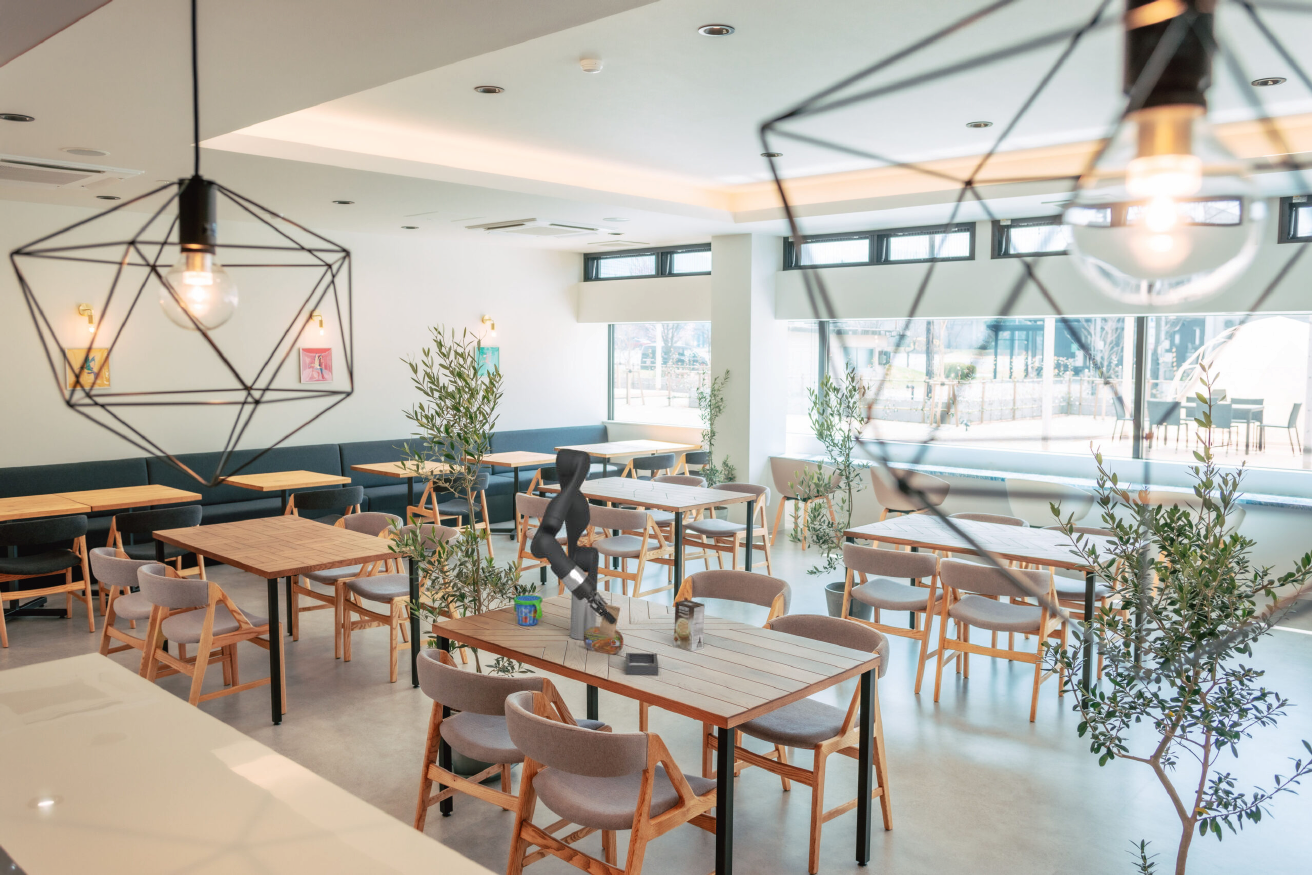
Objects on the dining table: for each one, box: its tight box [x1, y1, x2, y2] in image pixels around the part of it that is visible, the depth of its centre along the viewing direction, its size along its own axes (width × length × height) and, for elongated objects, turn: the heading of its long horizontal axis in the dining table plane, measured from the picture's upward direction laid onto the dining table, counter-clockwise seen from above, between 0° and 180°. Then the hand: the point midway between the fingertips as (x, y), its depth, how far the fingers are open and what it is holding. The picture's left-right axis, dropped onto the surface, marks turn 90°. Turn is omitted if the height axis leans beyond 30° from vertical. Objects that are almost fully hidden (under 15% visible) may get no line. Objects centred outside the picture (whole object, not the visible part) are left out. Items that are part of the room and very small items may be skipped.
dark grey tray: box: [625, 652, 659, 677], centre depth 302 cm, size 14×10×3 cm
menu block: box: [598, 603, 621, 638], centre depth 301 cm, size 4×5×10 cm
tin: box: [583, 626, 624, 655], centre depth 319 cm, size 15×3×8 cm, turn 62°
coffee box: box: [673, 599, 705, 652], centre depth 328 cm, size 9×6×16 cm
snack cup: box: [513, 594, 543, 627], centre depth 352 cm, size 16×10×10 cm
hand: (614, 620), depth 301 cm, fingers closed on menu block, 3 cm apart
